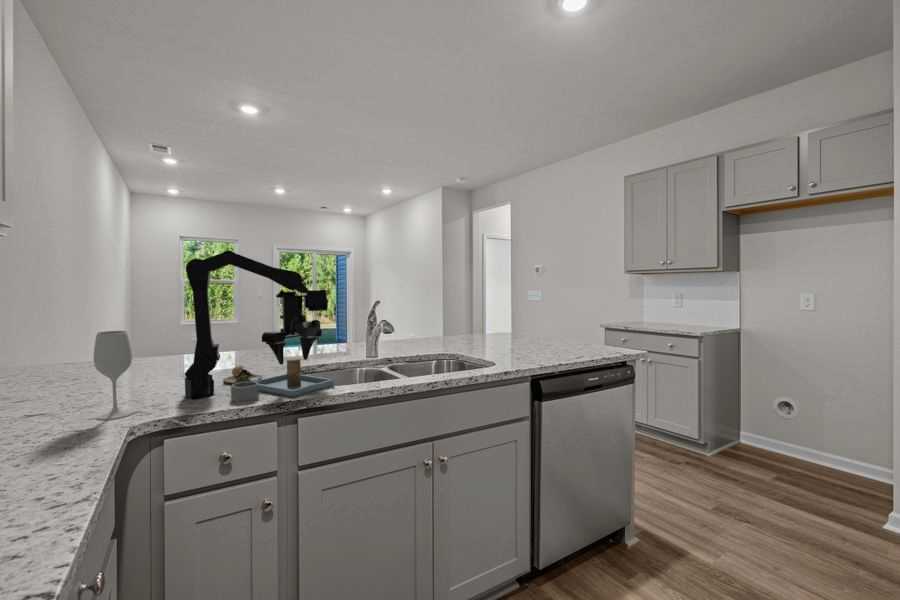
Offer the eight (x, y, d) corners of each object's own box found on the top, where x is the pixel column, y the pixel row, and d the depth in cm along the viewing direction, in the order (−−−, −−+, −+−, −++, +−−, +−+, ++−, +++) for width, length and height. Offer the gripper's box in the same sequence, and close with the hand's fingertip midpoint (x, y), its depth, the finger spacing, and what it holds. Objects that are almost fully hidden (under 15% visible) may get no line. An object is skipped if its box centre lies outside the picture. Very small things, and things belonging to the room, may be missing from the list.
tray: (292, 399, 125) (292, 391, 125) (247, 390, 135) (247, 382, 135) (333, 387, 138) (333, 379, 138) (290, 380, 149) (290, 372, 148)
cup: (242, 405, 120) (241, 388, 119) (227, 401, 123) (226, 385, 123) (264, 399, 125) (263, 383, 125) (248, 395, 129) (248, 380, 129)
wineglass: (128, 409, 116) (125, 329, 115) (138, 414, 111) (135, 331, 110) (92, 416, 110) (88, 332, 109) (100, 422, 105) (97, 335, 104)
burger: (252, 388, 139) (251, 364, 139) (215, 387, 140) (214, 364, 139) (268, 379, 151) (268, 357, 151) (234, 379, 152) (234, 357, 151)
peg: (293, 387, 135) (292, 361, 134) (284, 385, 137) (283, 360, 136) (303, 384, 138) (303, 359, 138) (294, 383, 140) (294, 358, 140)
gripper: (285, 315, 124) (286, 370, 125) (333, 310, 140) (334, 359, 141) (259, 313, 130) (261, 366, 131) (309, 309, 146) (310, 356, 147)
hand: (293, 362), depth 137 cm, fingers open, 9 cm apart
